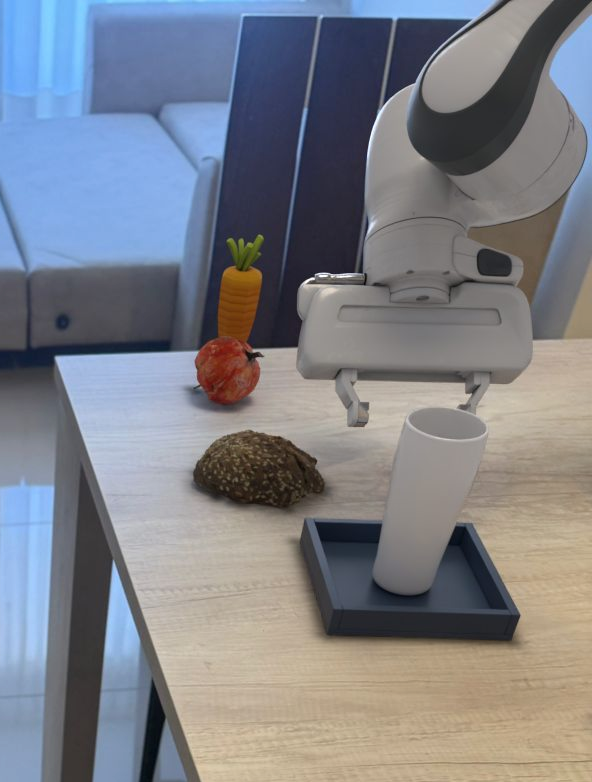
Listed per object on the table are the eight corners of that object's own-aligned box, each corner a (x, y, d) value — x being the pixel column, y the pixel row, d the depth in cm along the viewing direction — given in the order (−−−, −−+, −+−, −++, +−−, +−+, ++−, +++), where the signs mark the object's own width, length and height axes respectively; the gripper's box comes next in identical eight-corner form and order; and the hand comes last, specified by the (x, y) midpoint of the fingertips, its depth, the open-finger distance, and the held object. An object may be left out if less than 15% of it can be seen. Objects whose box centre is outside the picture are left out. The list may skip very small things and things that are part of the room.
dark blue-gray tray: (464, 547, 110) (472, 522, 108) (511, 640, 98) (521, 615, 96) (299, 541, 110) (304, 517, 108) (327, 634, 98) (333, 609, 97)
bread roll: (175, 485, 118) (181, 439, 115) (233, 442, 125) (240, 398, 122) (289, 523, 112) (299, 476, 109) (343, 476, 120) (353, 431, 116)
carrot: (201, 367, 141) (219, 236, 130) (219, 354, 144) (238, 225, 133) (238, 377, 139) (259, 244, 128) (256, 364, 142) (277, 233, 131)
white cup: (417, 611, 100) (468, 449, 90) (348, 583, 103) (389, 423, 93) (453, 581, 104) (505, 422, 94) (385, 554, 107) (428, 397, 97)
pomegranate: (180, 422, 134) (242, 392, 126) (163, 359, 133) (225, 325, 125) (224, 412, 138) (287, 383, 130) (208, 351, 137) (270, 318, 129)
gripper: (306, 255, 101) (302, 410, 101) (542, 260, 101) (539, 415, 100) (289, 290, 107) (286, 436, 107) (511, 294, 107) (509, 441, 106)
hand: (410, 426), depth 103 cm, fingers open, 8 cm apart
